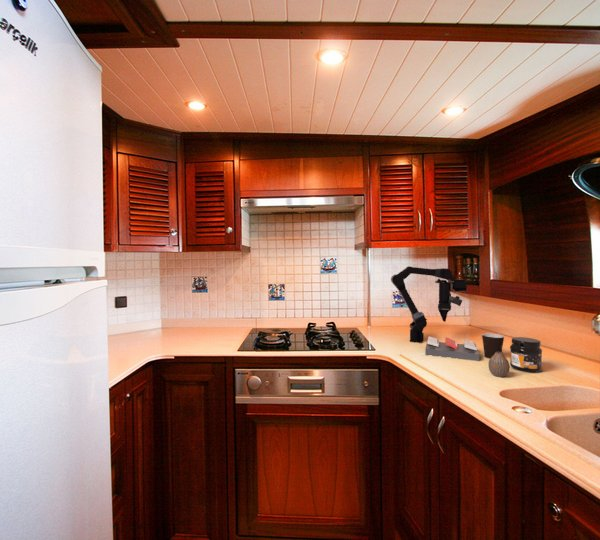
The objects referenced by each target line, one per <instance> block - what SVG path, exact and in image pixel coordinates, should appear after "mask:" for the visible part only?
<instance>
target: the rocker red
mask: <svg viewBox="0 0 600 540" xmlns="http://www.w3.org/2000/svg"><path fill="white" fill-rule="evenodd" d="M444 340H445V342H444V343H446V345H448V346H450V347H452V348H455V349H457V347H458V346H457V344H458V342H457V341H456V340H454V339H452V338H450V337H447V336H446V338H445V339H444Z"/></svg>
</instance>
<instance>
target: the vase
mask: <svg viewBox="0 0 600 540" xmlns="http://www.w3.org/2000/svg"><path fill="white" fill-rule="evenodd" d="M510 367H511V365H510V362H509V360H508V359H507V358H506V356H505V355H504V353H503V352H502V353H501V352H495V354H494V355H493V356H492V357H491V358H490V359H489V361H488V370H489V372H490V374H492V375H493V376H494V377H497V378H505V377H507V376H508V375H509V373H510V371H511V368H510Z"/></svg>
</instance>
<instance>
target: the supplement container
mask: <svg viewBox="0 0 600 540" xmlns="http://www.w3.org/2000/svg"><path fill="white" fill-rule="evenodd" d="M541 343H542V341H541V340H539V339H537V338H533V337H532V338H531V337H526V336H525V337H524V336H515V337H512V338H511V344H510V346H509V348H510V350H509V351H510V354H509V355H510V356H509V357H510V358H509V359H510V362H509V365H510V367H511V368H513V369H514V370H516V371H519V372H524V373H531V374H532V373H534V374H536V373H540V372H541V371H542V370H543V368H542V363H543V362H542V361H543V359H542V357H543V355H542V354H543V349H542V348H541V346H542V344H541Z"/></svg>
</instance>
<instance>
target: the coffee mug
mask: <svg viewBox="0 0 600 540" xmlns="http://www.w3.org/2000/svg"><path fill="white" fill-rule="evenodd" d="M481 339H482V346H483V354H484V358H486V359H489V360H490V358H491V357H492V356H493V355H494V354H495V352H501V353H503V347H504V341H505V340H504V339H505V336H504V335H503V334H498V333H491V332H490V333H488V332H486V333H482V334H481Z"/></svg>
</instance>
